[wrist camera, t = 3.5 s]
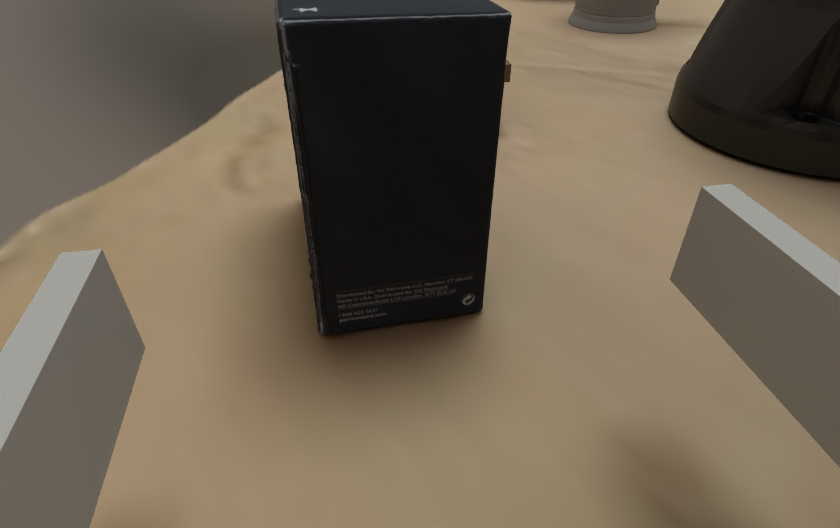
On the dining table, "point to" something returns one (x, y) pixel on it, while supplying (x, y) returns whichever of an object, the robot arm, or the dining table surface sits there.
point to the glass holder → (614, 15)
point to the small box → (394, 151)
